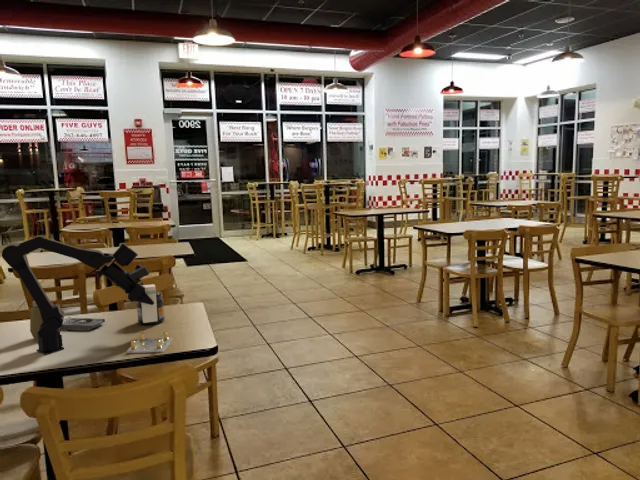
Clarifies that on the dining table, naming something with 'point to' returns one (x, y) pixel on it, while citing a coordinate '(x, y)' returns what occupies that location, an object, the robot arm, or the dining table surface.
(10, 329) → the dining table surface
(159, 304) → the supplement container
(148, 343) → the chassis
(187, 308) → the dining table surface
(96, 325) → the graphics card
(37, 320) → the squeeze bottle
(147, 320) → the block
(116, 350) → the dining table surface
